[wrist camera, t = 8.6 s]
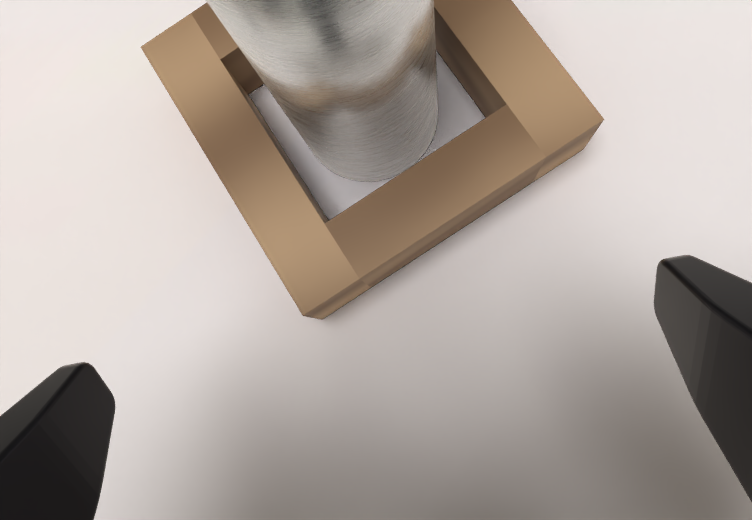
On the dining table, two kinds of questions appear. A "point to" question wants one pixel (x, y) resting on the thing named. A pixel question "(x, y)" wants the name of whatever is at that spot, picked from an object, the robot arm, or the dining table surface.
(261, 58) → the metal canister
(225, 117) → the frame
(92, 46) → the dining table surface
